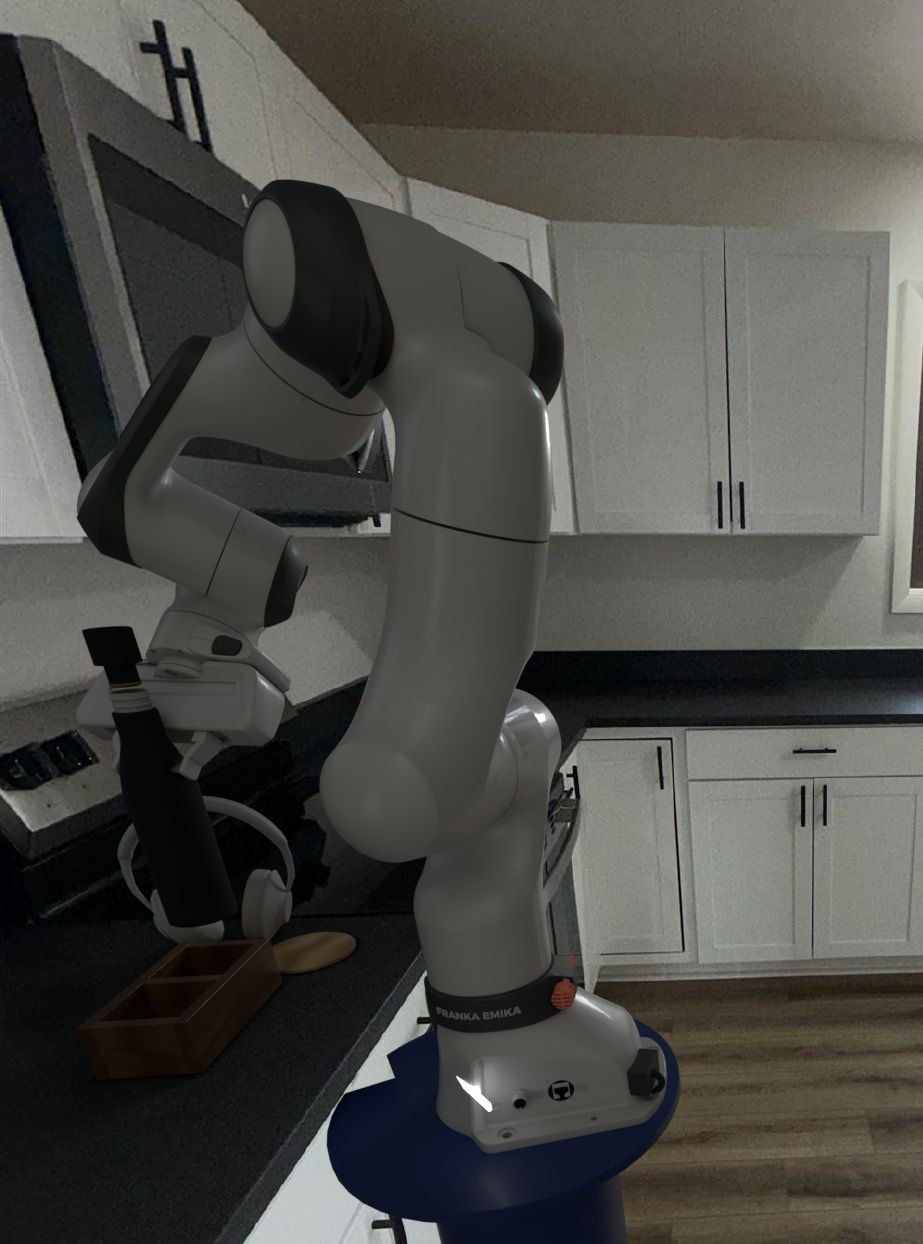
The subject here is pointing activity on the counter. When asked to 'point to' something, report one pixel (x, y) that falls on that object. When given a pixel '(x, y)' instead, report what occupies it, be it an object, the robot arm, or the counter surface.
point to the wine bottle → (161, 793)
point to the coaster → (312, 951)
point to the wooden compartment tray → (181, 1010)
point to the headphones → (263, 892)
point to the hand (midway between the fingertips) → (153, 775)
